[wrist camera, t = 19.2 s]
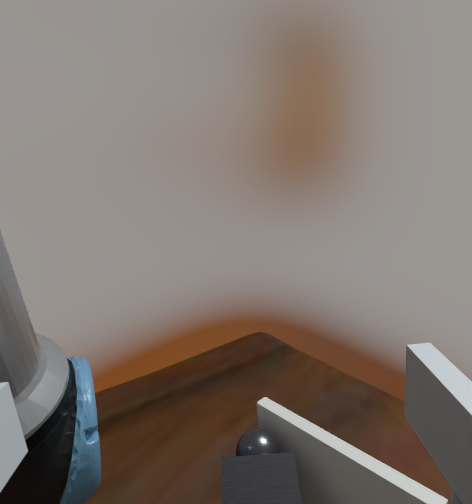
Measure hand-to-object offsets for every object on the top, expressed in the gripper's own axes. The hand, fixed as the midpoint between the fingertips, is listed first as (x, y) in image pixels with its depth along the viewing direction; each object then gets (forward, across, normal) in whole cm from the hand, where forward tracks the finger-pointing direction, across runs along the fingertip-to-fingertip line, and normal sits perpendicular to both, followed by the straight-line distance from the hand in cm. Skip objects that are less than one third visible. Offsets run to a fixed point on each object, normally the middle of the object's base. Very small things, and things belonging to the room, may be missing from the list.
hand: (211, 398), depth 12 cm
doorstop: (+3, +1, -26) cm, 27 cm away
